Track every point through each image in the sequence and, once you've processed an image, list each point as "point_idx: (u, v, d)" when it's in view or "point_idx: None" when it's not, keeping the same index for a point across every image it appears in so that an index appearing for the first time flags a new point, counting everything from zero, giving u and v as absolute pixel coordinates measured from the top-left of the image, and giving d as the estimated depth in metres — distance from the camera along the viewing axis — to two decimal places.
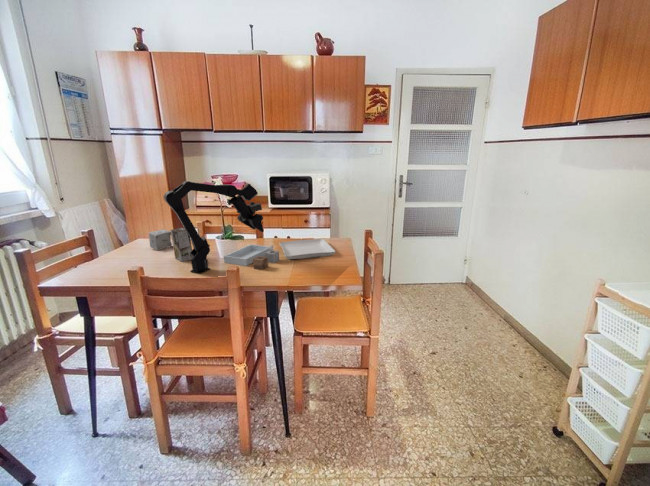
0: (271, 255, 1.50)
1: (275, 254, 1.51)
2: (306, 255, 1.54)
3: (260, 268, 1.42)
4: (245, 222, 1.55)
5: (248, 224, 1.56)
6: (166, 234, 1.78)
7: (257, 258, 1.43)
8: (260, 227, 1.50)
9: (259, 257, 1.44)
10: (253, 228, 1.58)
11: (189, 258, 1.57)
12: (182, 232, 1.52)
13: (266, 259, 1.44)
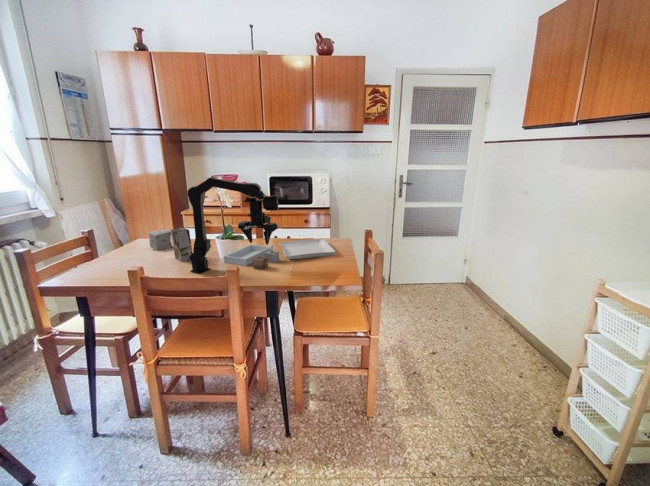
0: (271, 255, 1.50)
1: (275, 254, 1.51)
2: (306, 255, 1.54)
3: (260, 268, 1.42)
4: (246, 231, 1.40)
5: (248, 234, 1.41)
6: (166, 234, 1.78)
7: (257, 258, 1.43)
8: (268, 238, 1.38)
9: (259, 257, 1.44)
10: (250, 241, 1.43)
11: None
12: (182, 232, 1.52)
13: (266, 259, 1.44)
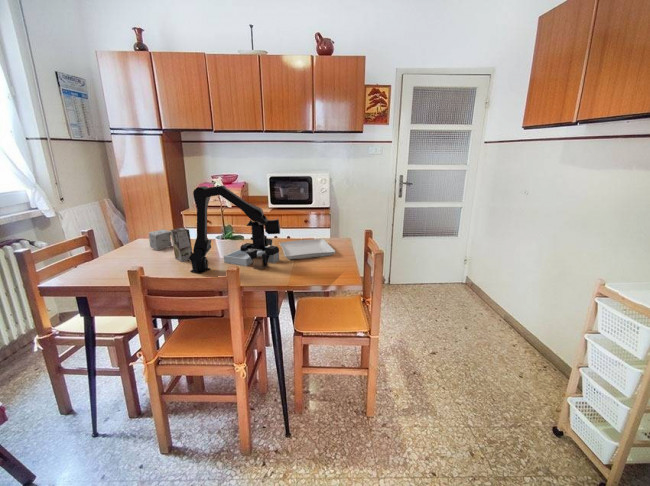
0: (271, 255, 1.50)
1: (275, 254, 1.51)
2: (306, 255, 1.54)
3: (260, 268, 1.42)
4: (252, 254, 1.42)
5: (253, 257, 1.43)
6: (166, 234, 1.78)
7: (257, 258, 1.43)
8: (266, 260, 1.42)
9: (259, 257, 1.44)
10: None
11: None
12: (182, 232, 1.52)
13: None
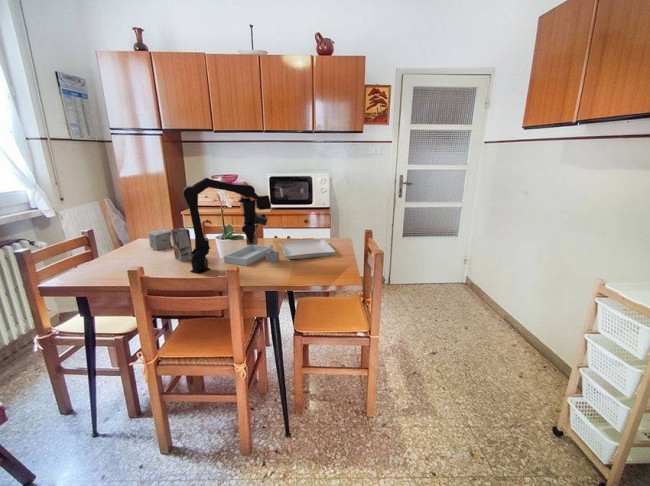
0: (271, 255, 1.50)
1: (275, 254, 1.51)
2: (306, 255, 1.54)
3: None
4: None
5: None
6: (166, 234, 1.78)
7: None
8: (250, 237, 1.45)
9: None
10: None
11: (189, 258, 1.57)
12: (182, 232, 1.52)
13: (254, 236, 1.47)
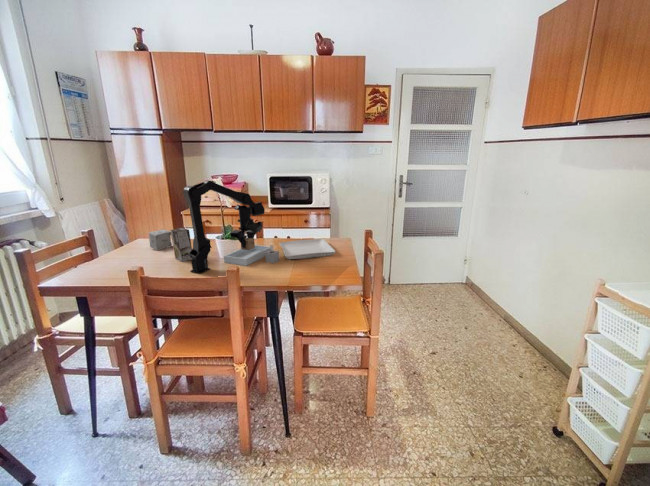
0: (271, 255, 1.50)
1: (275, 254, 1.51)
2: (306, 255, 1.54)
3: None
4: (247, 233, 1.59)
5: (248, 237, 1.59)
6: (166, 234, 1.78)
7: (247, 238, 1.58)
8: (242, 242, 1.53)
9: (249, 238, 1.57)
10: None
11: (189, 258, 1.57)
12: (182, 232, 1.52)
13: (246, 242, 1.54)
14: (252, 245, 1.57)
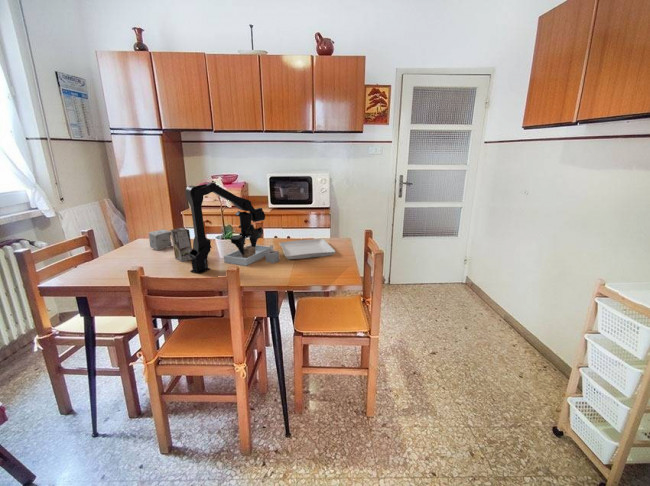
0: (271, 255, 1.50)
1: (275, 254, 1.51)
2: (306, 255, 1.54)
3: None
4: (250, 238, 1.62)
5: (251, 241, 1.62)
6: (166, 234, 1.78)
7: (247, 247, 1.59)
8: (240, 249, 1.53)
9: (250, 247, 1.58)
10: None
11: (189, 258, 1.57)
12: (182, 232, 1.52)
13: (247, 250, 1.55)
14: (253, 253, 1.58)
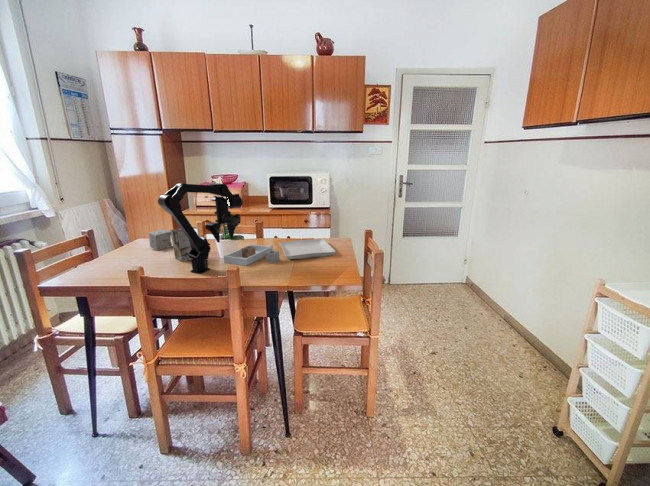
0: (271, 255, 1.50)
1: (275, 254, 1.51)
2: (306, 255, 1.54)
3: None
4: (228, 226, 1.54)
5: (229, 229, 1.54)
6: (166, 234, 1.78)
7: (247, 247, 1.59)
8: (216, 236, 1.45)
9: (250, 247, 1.58)
10: (230, 236, 1.54)
11: (189, 258, 1.57)
12: (182, 232, 1.52)
13: (247, 250, 1.55)
14: (253, 253, 1.58)
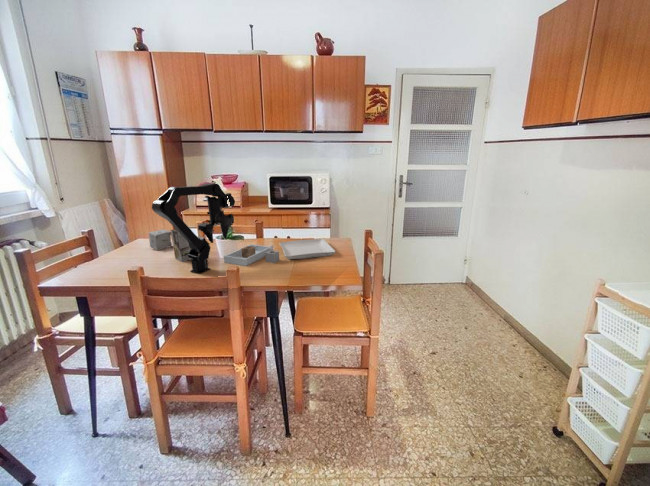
0: (271, 255, 1.50)
1: (275, 254, 1.51)
2: (306, 255, 1.54)
3: None
4: (221, 226, 1.52)
5: (222, 229, 1.52)
6: (166, 234, 1.78)
7: (247, 247, 1.59)
8: (209, 237, 1.43)
9: (250, 247, 1.58)
10: None
11: (189, 258, 1.57)
12: None
13: (247, 250, 1.55)
14: (253, 253, 1.58)
